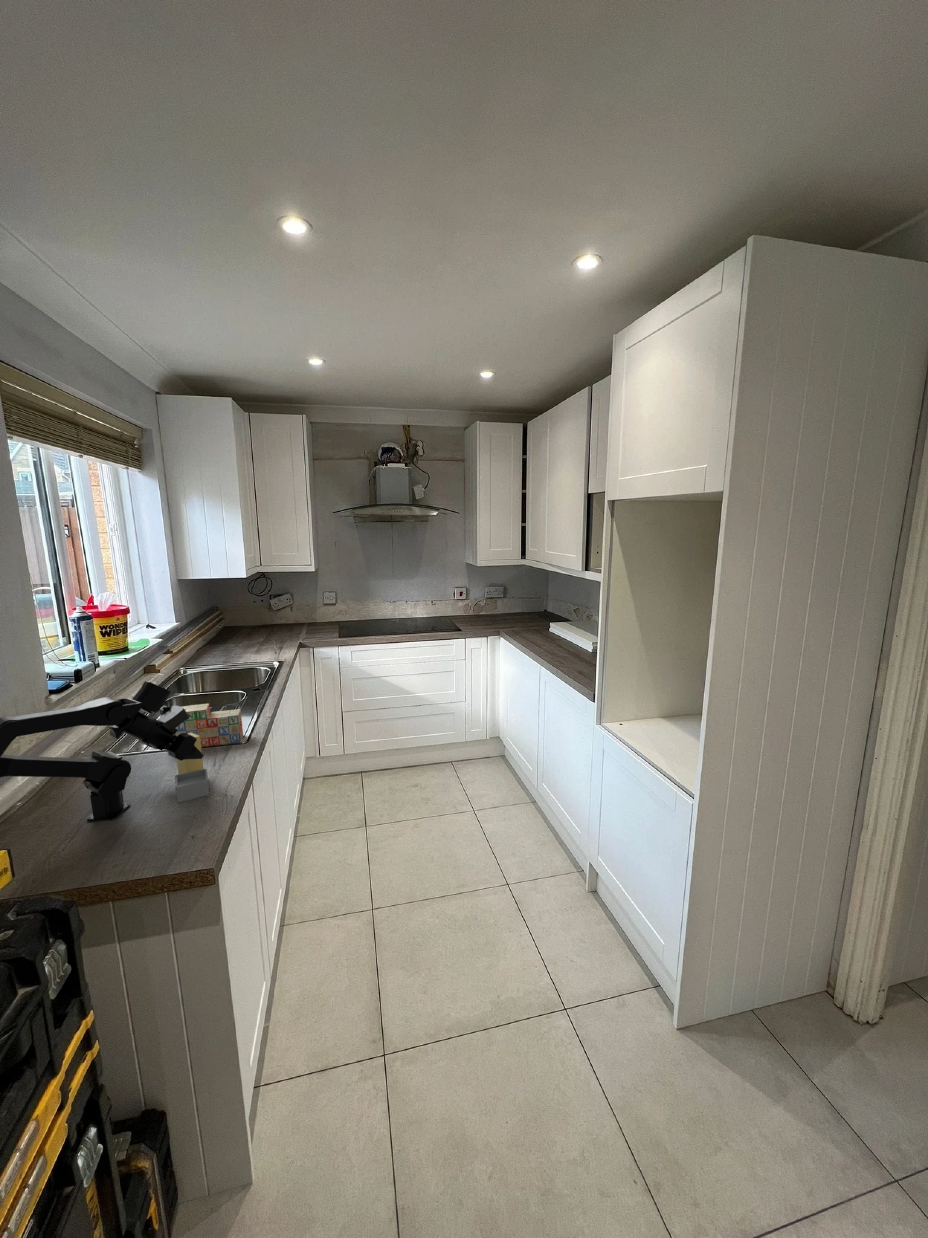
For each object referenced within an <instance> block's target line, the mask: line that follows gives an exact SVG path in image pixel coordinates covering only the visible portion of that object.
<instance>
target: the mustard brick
mask: <svg viewBox="0 0 928 1238" xmlns="http://www.w3.org/2000/svg"><path fill="white" fill-rule="evenodd" d="M188 734H189V735H191V736H193V737H195V738H197V741H196V742H195V744H194V745H195V747H196V748H197V749H198V750H199V751H200V752H201V753H202V752H203V751H202V747H201V742H200V736H199V735H196V734H193V733H188ZM202 754H203V753H202ZM203 760H204V759H203V758H202V759H185V760H182V761H181V760H178V759H176V764H177V765H176V766H177V770H178V771H177V772H178V775H179V774H184V773H188V772H193V771H197V770H202V769H205V767H204V761H203Z"/></svg>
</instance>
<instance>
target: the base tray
mask: <svg viewBox="0 0 928 1238" xmlns="http://www.w3.org/2000/svg"><path fill="white" fill-rule="evenodd" d="M207 770H208V769H207V768H204V769H202V770H197V771H193V772H188V773H184V774H179V773H178V774H176V775H174V785H175V786H174V787H175V792H176V798H177V803H178V804H179V803H183V802H187V801H190V800H194V799H198V798H202V797H203V798H204V797H207V796H210V789H209V788H210V787H209V776H208V771H207Z"/></svg>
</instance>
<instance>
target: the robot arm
mask: <svg viewBox="0 0 928 1238" xmlns="http://www.w3.org/2000/svg"><path fill="white" fill-rule="evenodd" d="M172 694H173V693H172V692H171V690H168V689H167V688H165V687H163V686H160V685H158V684H155V683H153V682H151V681H148V680H145V681H144V682H143V683H142V684H141V687H140V688H139V690H138V691H137V692H136V694H135V695H134V697H133V698H132V699H131V698H129V697H124V698H116V699H115V698H112V697H107V696H105V697H104V696H103V697H100V698H97V699H93V700H90V701H87V702H85V703H82V704H80V705H77V706H73V707H68V708H62V709H55V710H49V711H43V712H41V711H40V712H34V713H28V714H27V713H26V714H22V715H21V714H20V715H14V716H2V717H0V779H1V778H5V777H26V778H27V777H28V778H29V777H31V778H32V777H33V778H34V777H35V778H78V779H79V778H83V779H84V780H83V781H82V784H83V786H84V787H85V788H86V789H87V790H89V791H90V795H89V798H90V799H89V800H90V806H91V812H92V813H91V814H90V815H89V816H87V817H86V821H89V822H90V821H91V822H92V821H107V820H108V821H109V820H115V819H117V818H118V817H119V816H120V815H121V814H123V812H125V811H126V810H127V809H128V808H129V807H131V803H130V802H125V803H124V796H123V791H124V790H125V789H126V783H127V779H128V777H129V776H130V774H131V772H132V766H131V763H130V762H129V761H128V760H126V759H123V756H121V755H119V754H117V753H115V752H114V751H113V752H112V751H110V750H108V751H104V752H103V751H97V750H92V751H91V756H87V757H83V758H81V757H80V758H78V757H77V758H76V757H56V756H55V757H54V756H39V755H37V756H35V755H33V756H32V755H13V754H12V755H11V754H6V753H5V752H6V750H7V749H8V748H9V746H10V745H11V743H12V742H13V741H14V740H16V738H17V737H23V736H30V735H34V734H40V733H41V734H42V733H45V732H51V731H56V730H62V729H67V728H74V727H80V726H92V727H93V726H94V727H95V726H96V727H105V726H106V727H108V726H109V727H108V729H109V736H110V737H112V738H115V739H117V740H118V739H120V737H122V735H123V734H125V735H127V736H129V737H132V738H134V739H136V740H137V741H140V742H141V744H143V745H144V746H147V747H149V748H152V749H155V750H159V751H161V752H162V751H163V750H164V751H167V750H168V751H167V754H168V756H170V757H172V758H174V759H176V760H177V759H178V760H181V761H182V760H185V759H203V757H204V756H205V755H204V754H203V753H201V752H200V751H199V750H198V749H197V748H196V747H195V745H194V744H195V742H196V741H197V738H195V737H193V736H191V735H189V734H186V733H181V734H179V735H178V736H176V735H173V734H175V733H176V732H177V729H175V728H176V727H178V726H179V725H180V724H181V723H183V722H184V721H185V720H187V719H189V717H190V716H189V715H188V713H187V712H186V711H185V709H184V708H183V706H179V705H172V706H171V707H169V706H167V705H165V703H166V702H167V700H168V699H169V697H171V695H172ZM140 711H143V712H144V713H147V714H149V715H152V713H154V714H157V713H159V718H152V717H150V716H148V715H147V714H144V713H142V712H140Z"/></svg>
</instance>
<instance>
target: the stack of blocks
mask: <svg viewBox="0 0 928 1238" xmlns="http://www.w3.org/2000/svg"><path fill="white" fill-rule="evenodd" d="M182 707H183V708H184V709H185V711H186V712H187V713H188V715H189V716H190V717H189V719H187V720H185V721H184V722H183V723H181V724H180V725H179V726H178V727H176V728H175V729H177V732H176V733H175V734H173V735H176V736H178V735H179V734H181V733H186V734H188V733H193V734H196V735H199V736H200V742H201V746H206V747H212V746H213V745H214V746H219V745H220V744H222V745H226V744H225V743H230V744H237V742H238V743H241V742H242V740H243V738H244V729H243V721H242V720H243V719H242V710H241V708H238V709H228V710H221V711H220V710H218V711H217V710H216V711H212V712H211V707H210V703H200V704H191V705H184V706H182Z"/></svg>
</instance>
